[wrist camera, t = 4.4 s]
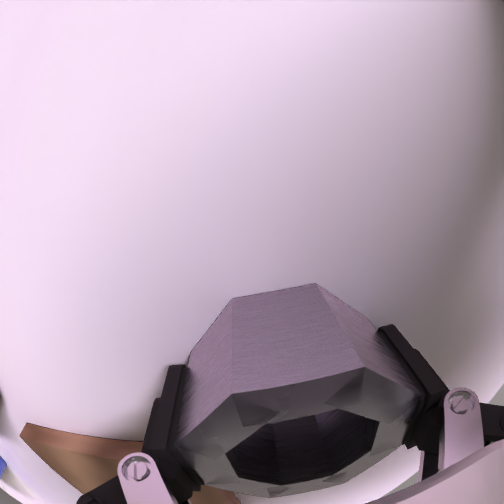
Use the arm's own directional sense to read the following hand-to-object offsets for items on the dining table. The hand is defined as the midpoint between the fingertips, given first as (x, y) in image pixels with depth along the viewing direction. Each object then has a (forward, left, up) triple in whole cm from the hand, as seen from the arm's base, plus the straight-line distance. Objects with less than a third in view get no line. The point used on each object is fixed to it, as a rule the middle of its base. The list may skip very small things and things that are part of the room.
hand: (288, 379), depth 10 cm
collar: (0, 0, -1) cm, 1 cm away
